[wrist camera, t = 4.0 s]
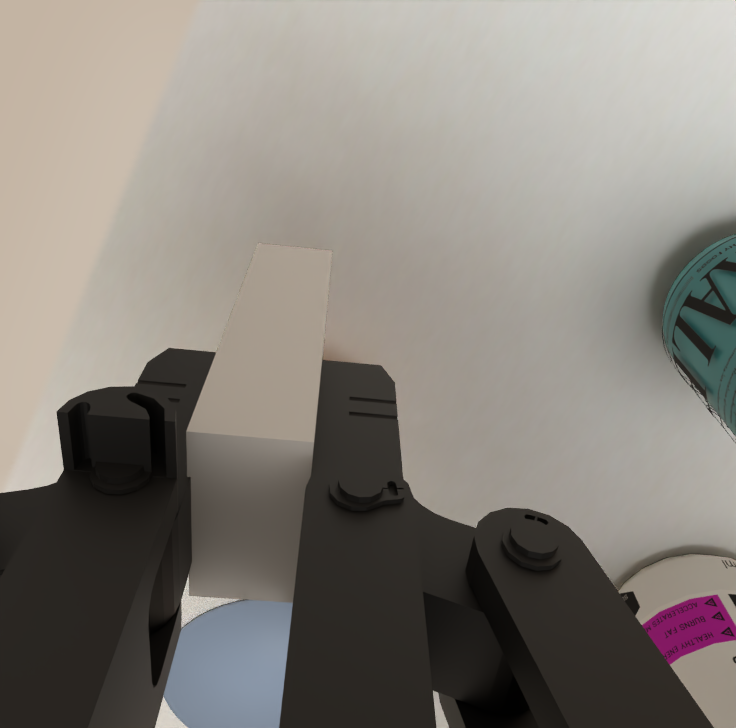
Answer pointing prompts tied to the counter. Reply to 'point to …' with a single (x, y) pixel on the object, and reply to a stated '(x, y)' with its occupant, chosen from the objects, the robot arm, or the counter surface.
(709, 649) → the supplement can
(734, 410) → the beverage bottle
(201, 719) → the slate mark
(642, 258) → the counter surface
